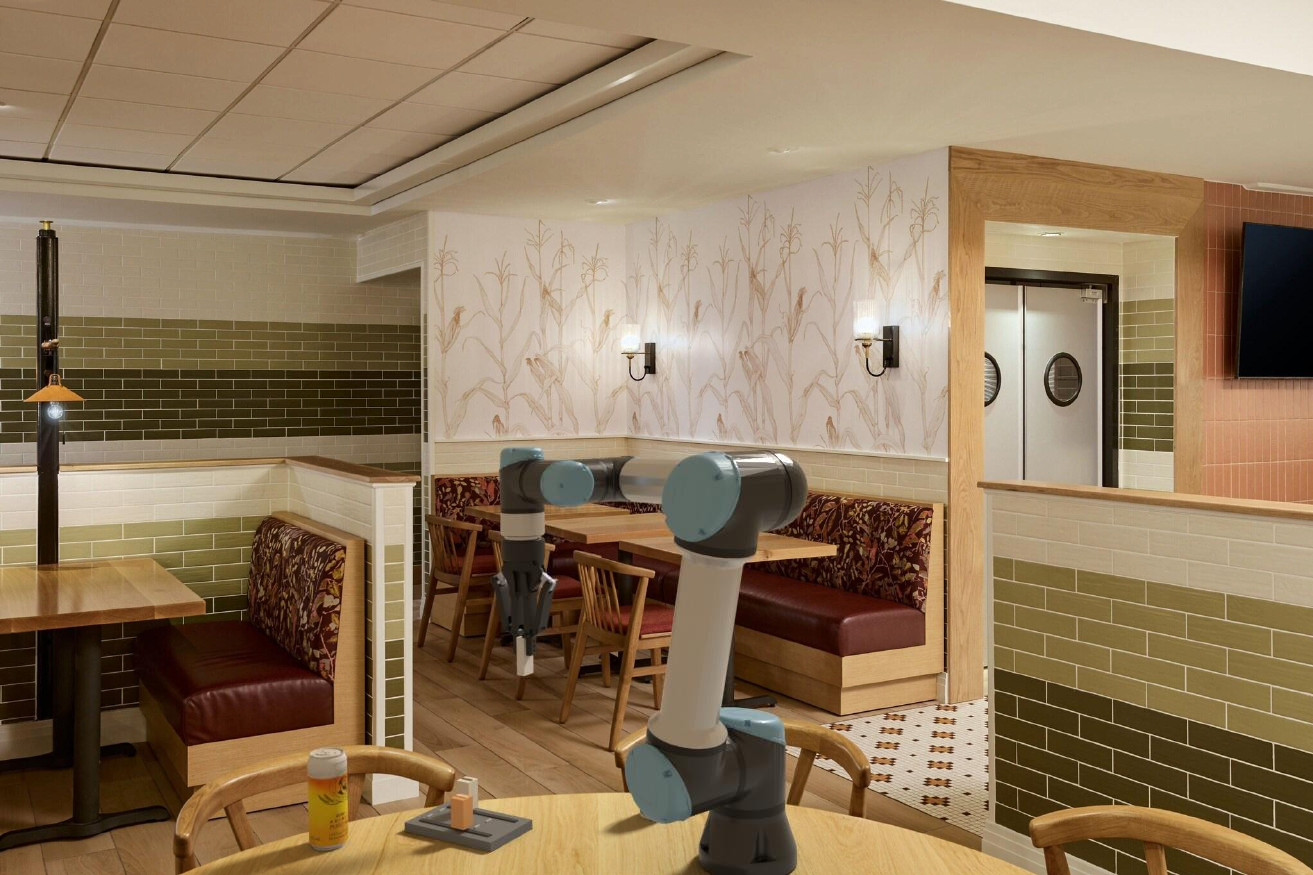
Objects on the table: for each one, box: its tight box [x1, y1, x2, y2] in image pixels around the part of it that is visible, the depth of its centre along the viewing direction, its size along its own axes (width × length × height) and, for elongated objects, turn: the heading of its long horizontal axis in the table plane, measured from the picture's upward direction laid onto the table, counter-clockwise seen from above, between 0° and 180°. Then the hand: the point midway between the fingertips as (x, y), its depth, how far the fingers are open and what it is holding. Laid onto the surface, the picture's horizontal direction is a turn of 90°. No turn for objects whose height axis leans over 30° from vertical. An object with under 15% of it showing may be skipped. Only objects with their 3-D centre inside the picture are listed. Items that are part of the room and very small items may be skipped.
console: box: [404, 801, 533, 853], centre depth 187 cm, size 18×11×2 cm, turn 60°
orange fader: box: [450, 793, 473, 830], centre depth 183 cm, size 3×2×5 cm
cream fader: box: [456, 775, 479, 809], centre depth 192 cm, size 3×2×5 cm
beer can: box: [306, 746, 349, 852], centre depth 181 cm, size 6×6×15 cm
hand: (525, 673), depth 194 cm, fingers closed
